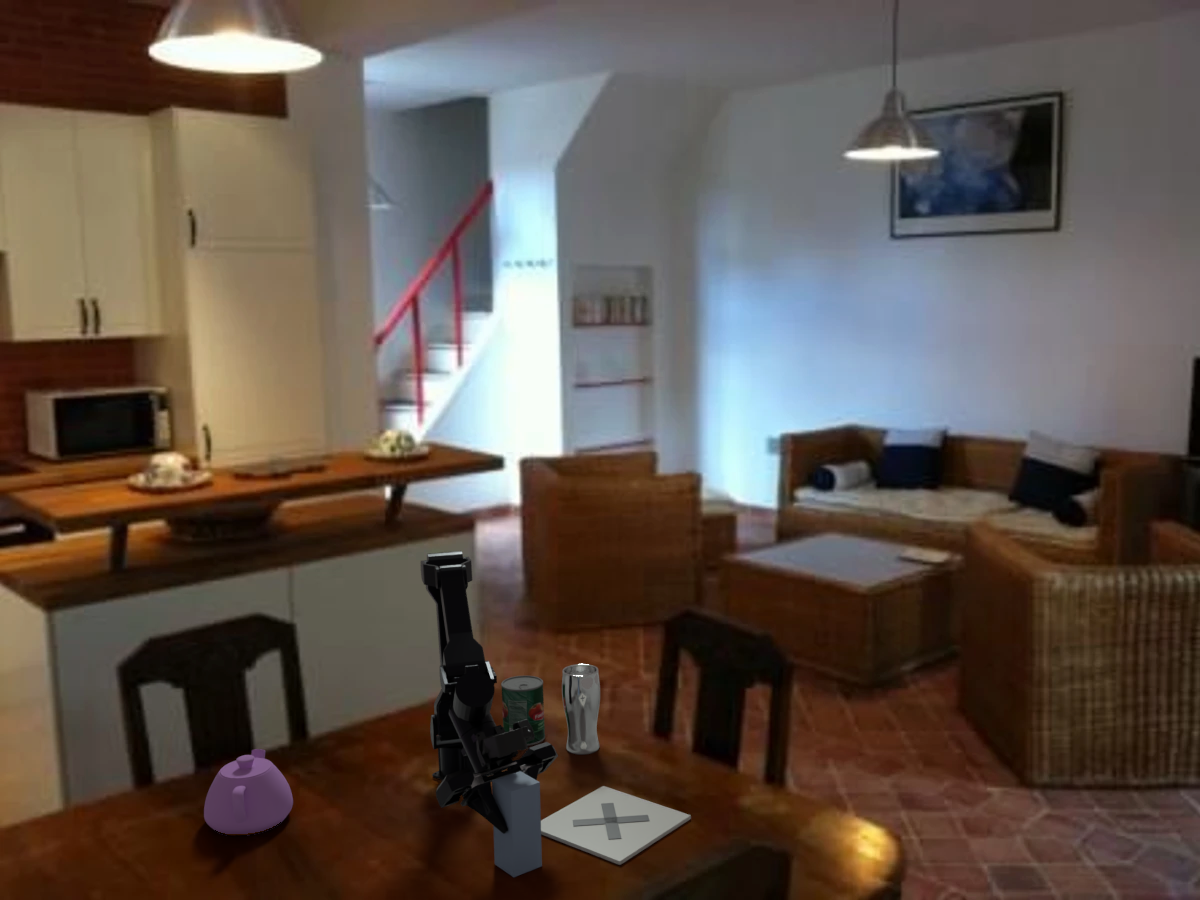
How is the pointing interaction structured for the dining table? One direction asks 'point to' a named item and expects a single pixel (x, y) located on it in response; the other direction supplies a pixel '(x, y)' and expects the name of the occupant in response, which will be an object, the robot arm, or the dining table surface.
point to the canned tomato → (524, 704)
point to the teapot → (248, 796)
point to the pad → (612, 824)
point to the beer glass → (581, 707)
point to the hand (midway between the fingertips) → (521, 826)
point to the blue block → (518, 823)
